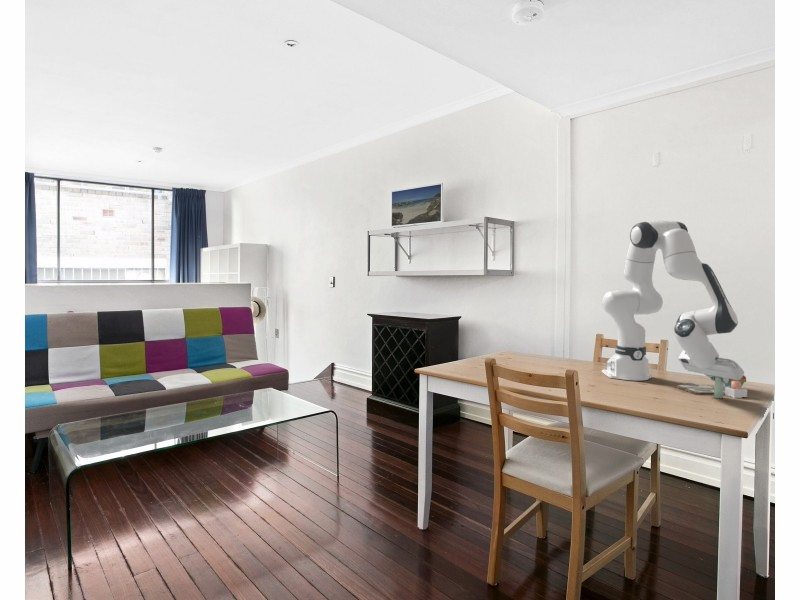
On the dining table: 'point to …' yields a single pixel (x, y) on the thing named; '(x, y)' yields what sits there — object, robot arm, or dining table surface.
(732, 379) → the cupcake
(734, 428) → the dining table surface
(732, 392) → the button housing
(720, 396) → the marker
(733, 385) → the button
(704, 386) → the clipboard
